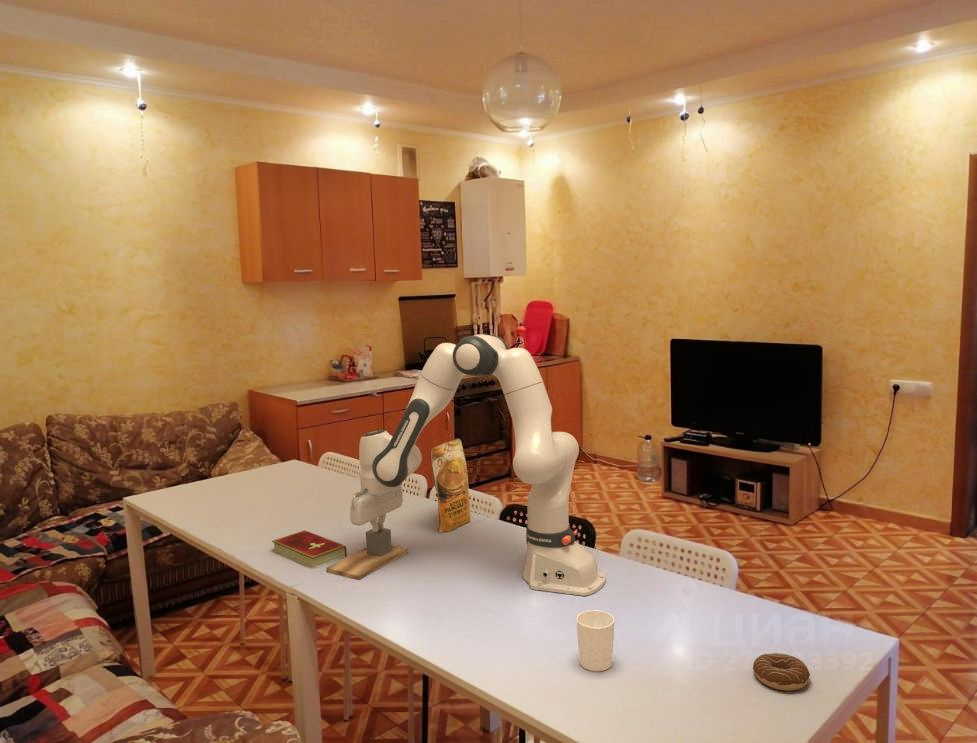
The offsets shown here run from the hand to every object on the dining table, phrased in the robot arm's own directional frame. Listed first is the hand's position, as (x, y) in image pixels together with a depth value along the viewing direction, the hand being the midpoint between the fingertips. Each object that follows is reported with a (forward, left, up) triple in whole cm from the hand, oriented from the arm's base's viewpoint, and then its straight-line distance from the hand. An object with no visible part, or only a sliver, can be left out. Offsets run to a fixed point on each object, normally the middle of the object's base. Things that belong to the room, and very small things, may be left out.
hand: (378, 530), depth 214 cm
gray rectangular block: (0, 0, -7) cm, 7 cm away
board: (0, +5, -8) cm, 9 cm away
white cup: (-79, +25, -8) cm, 83 cm away
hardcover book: (+20, +8, -9) cm, 23 cm away
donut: (-114, +13, -8) cm, 115 cm away
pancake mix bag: (-5, -32, -8) cm, 33 cm away
